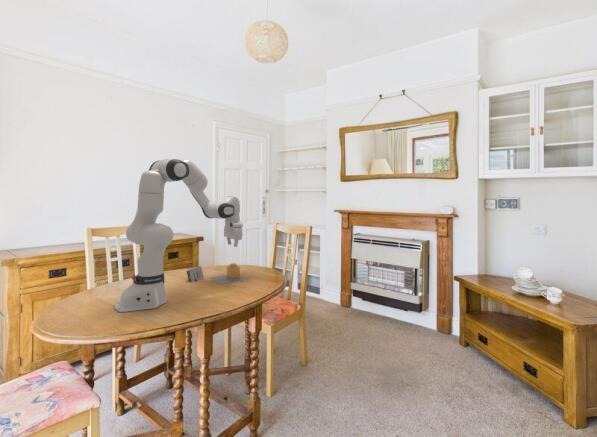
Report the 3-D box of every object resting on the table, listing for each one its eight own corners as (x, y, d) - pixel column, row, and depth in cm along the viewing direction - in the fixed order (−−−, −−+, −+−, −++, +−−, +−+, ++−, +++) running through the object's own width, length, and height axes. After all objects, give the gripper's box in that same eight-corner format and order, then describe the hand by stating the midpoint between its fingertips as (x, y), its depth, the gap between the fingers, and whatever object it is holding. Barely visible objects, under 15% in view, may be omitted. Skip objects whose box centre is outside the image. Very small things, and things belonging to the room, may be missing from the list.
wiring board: (219, 286, 181) (219, 277, 180) (210, 280, 194) (209, 271, 193) (248, 281, 191) (248, 273, 190) (237, 276, 204) (237, 267, 203)
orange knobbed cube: (230, 278, 193) (230, 265, 192) (226, 276, 198) (226, 263, 197) (239, 277, 196) (239, 264, 195) (235, 274, 201) (235, 262, 200)
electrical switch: (192, 285, 183) (191, 269, 183) (186, 284, 186) (185, 269, 186) (204, 281, 192) (203, 266, 191) (198, 280, 194) (197, 265, 194)
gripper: (221, 222, 200) (221, 243, 201) (234, 224, 184) (234, 248, 185) (230, 221, 204) (230, 242, 205) (244, 224, 187) (244, 247, 188)
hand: (232, 245), depth 195 cm, fingers open, 8 cm apart
